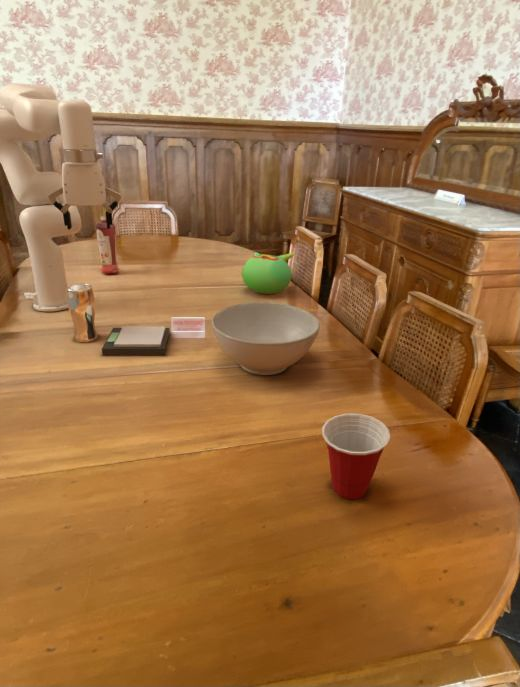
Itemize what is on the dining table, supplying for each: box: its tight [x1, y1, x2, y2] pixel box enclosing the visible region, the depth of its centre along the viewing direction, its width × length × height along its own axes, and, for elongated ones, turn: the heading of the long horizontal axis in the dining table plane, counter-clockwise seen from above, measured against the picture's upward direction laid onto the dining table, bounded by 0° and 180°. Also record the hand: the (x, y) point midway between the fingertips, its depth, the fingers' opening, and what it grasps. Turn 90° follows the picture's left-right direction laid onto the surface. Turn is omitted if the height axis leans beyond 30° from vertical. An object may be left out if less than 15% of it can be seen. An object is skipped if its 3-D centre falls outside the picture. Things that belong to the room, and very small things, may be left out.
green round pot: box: [241, 252, 295, 295], centre depth 170 cm, size 18×17×15 cm
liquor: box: [95, 205, 120, 276], centre depth 183 cm, size 7×7×28 cm
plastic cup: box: [321, 412, 391, 500], centre depth 78 cm, size 11×11×12 cm
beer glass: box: [66, 282, 99, 343], centre depth 129 cm, size 7×7×15 cm
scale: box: [101, 325, 171, 356], centre depth 129 cm, size 16×14×3 cm
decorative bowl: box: [210, 301, 321, 376], centre depth 119 cm, size 27×27×12 cm
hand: (89, 228), depth 122 cm, fingers open, 9 cm apart
